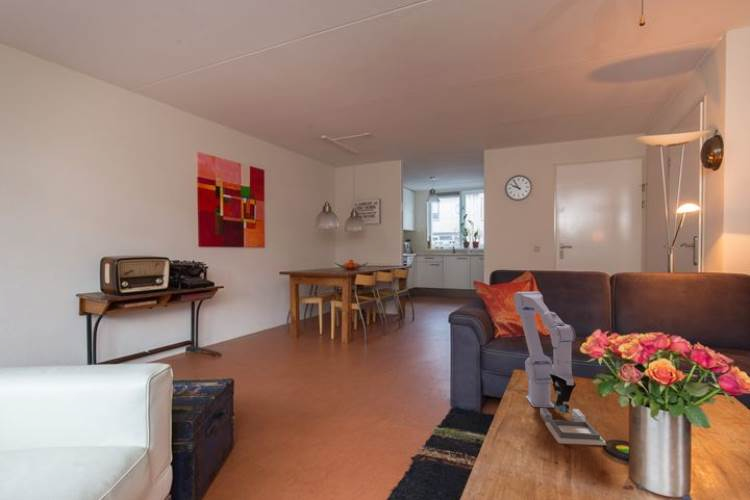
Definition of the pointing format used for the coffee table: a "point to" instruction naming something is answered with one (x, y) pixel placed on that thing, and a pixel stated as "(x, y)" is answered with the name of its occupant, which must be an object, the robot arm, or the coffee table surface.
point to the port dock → (574, 432)
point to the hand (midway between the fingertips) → (562, 397)
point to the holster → (547, 415)
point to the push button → (560, 401)
